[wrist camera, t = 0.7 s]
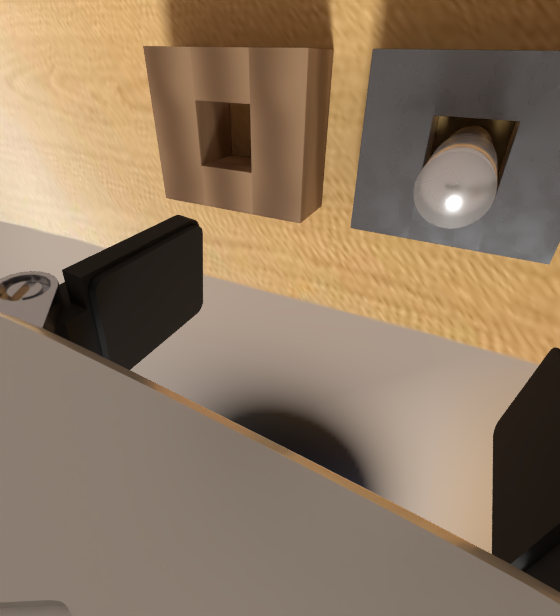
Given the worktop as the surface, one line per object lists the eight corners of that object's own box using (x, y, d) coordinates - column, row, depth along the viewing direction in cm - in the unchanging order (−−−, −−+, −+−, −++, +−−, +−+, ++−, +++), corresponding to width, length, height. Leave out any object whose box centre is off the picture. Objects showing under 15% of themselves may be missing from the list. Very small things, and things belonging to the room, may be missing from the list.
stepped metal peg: (483, 109, 26) (476, 134, 17) (506, 158, 27) (510, 206, 18) (431, 141, 29) (400, 178, 20) (453, 185, 30) (433, 240, 20)
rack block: (333, 49, 29) (308, 47, 25) (321, 205, 35) (300, 223, 31) (183, 47, 34) (143, 46, 30) (197, 185, 40) (166, 198, 36)
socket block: (626, 52, 22) (646, 51, 19) (544, 243, 29) (549, 264, 26) (386, 50, 27) (372, 48, 24) (363, 213, 34) (350, 227, 31)
